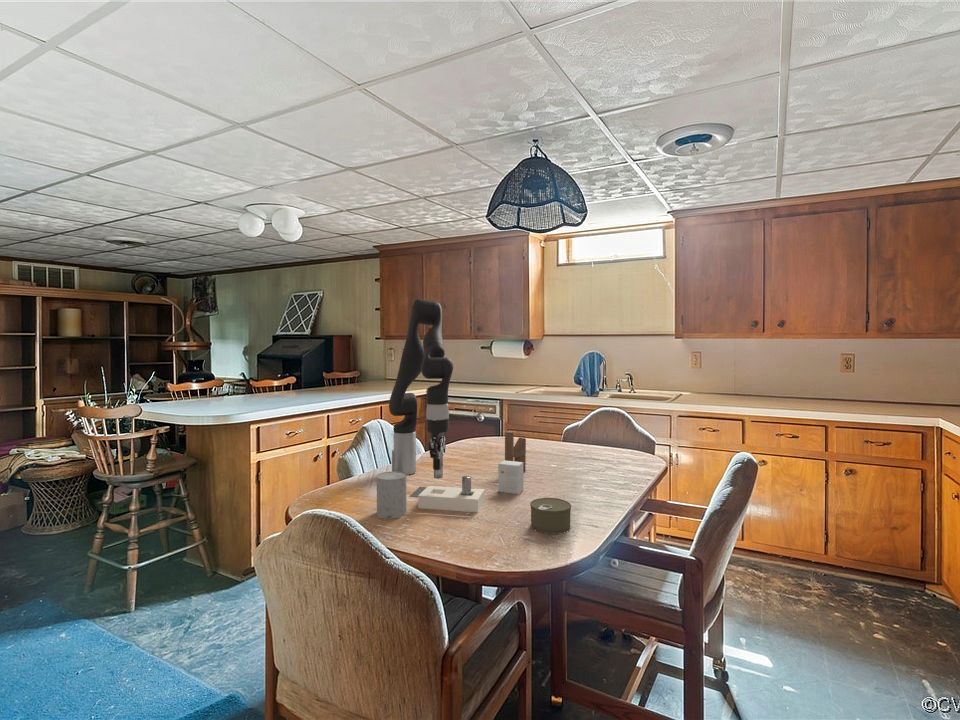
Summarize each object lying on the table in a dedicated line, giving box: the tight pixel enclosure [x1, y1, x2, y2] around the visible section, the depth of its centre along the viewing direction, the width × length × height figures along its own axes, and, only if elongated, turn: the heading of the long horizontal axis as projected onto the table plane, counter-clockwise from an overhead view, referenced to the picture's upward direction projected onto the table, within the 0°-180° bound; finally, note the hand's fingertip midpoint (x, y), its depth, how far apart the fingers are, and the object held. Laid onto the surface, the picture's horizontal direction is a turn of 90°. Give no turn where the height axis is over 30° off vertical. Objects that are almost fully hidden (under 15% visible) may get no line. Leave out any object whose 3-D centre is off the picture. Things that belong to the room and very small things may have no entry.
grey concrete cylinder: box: [375, 471, 408, 520], centre depth 158 cm, size 10×10×12 cm
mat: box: [408, 486, 428, 498], centre depth 178 cm, size 14×12×1 cm
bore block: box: [417, 485, 486, 514], centre depth 165 cm, size 20×11×4 cm, turn 78°
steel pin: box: [433, 447, 444, 479], centre depth 166 cm, size 3×3×10 cm
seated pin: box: [461, 475, 472, 496], centre depth 164 cm, size 3×3×10 cm
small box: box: [497, 459, 525, 495], centre depth 181 cm, size 8×6×10 cm
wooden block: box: [504, 430, 527, 473], centre depth 205 cm, size 4×11×18 cm, turn 137°
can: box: [529, 497, 572, 535], centre depth 147 cm, size 12×12×7 cm
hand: (438, 468), depth 166 cm, fingers closed on steel pin, 3 cm apart
